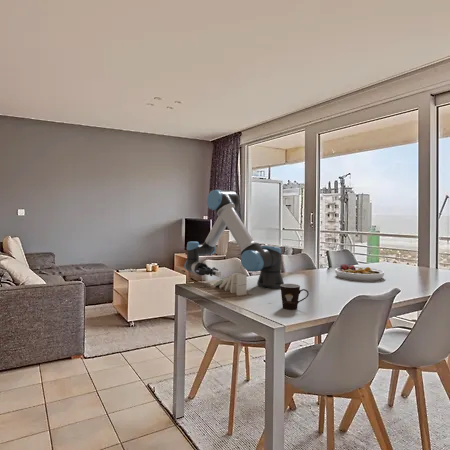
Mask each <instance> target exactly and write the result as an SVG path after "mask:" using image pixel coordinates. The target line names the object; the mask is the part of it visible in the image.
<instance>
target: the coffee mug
mask: <svg viewBox="0 0 450 450" xmlns="http://www.w3.org/2000/svg"><path fill="white" fill-rule="evenodd" d="M280 286H281V288H280V293H281V295H280V297H281V305H282V309H284V310H288V311H289V310H290V311H293V310H297V309H298V304H299V303H301V302H302V301H304V300H306V299H307V298H308V297H309V291H308V290H307V289H305V288H303V289H302V288H301V285H299V284H296V283H284V284H281V285H280ZM303 291H305V292H306V293H307V294H306V295H305V297H304V298H302V299H299V297H300V295H301V292H303Z"/></svg>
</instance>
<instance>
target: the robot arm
mask: <svg viewBox="0 0 450 450" xmlns="http://www.w3.org/2000/svg"><path fill="white" fill-rule="evenodd" d="M240 202H241V199H240V197H239V195H238V193H236V192H235V191H233V190H227V189H226V190H225V189H212V190H211V191H210V192H209V193H208V195H207V198H206V205H207V207H208V209H209V210H211V211H215V214H216V215H217V216H218V217H217V218H216V220H215V221H214V223H213V226H212V227H211V229H210V231H209V233H208V235H207V237H206V238H205V240H204V242H203V243H199V241H188V242H186V243H187V244H186V261H185V262H184V267H183V268H184V269H185V270H186V271H187V272H189V273H192V274H196V275H197V276H205V275H207V276H210V277H214V276H215V277H218V278H219V277H222V275H221V274H222V273H221V271H219V269H218V268H216V267H209V266H208V264H206V263H204V262H202V261H200V257H201V256H211V255H214V254H215V253H216V252H217V246H216V245H217V244H218V242H219V240H220V238H221V236H222V235H223V233H225V230H226V228H227V229H228V230H229V232H230V234H231V236H232V237H233V238H234V240H235V242H236V244H237V246H238V248H239V249H240V253H239V254H240V264H241V266H242V267H243V269H245V270H246V271H247V272H250V273H254V272H255V273H257V272H260V273H259V276H258V279H257V283H256V284H257V287H260V288H263V289H266V290H281V286H280V285H281V284H285V283H284V279H283V276H282V249H281V248H280V247H279V246H269V245H260V244H259V242H257V241H256V242H255V241H254V239H253V237H252V235H251V234H250V232H249V230H248V229H247V227H246V226H245V224H244V223H243V221H242V220H241V218H240V216H239V215H238V210H239V208H240Z"/></svg>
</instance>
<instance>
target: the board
mask: <svg viewBox="0 0 450 450" xmlns="http://www.w3.org/2000/svg"><path fill="white" fill-rule="evenodd" d="M194 288H195V289H198V290H200V291H203V292H205V293H207V294H211V295H212V296H215V297H218V298H220V299H223V300H227V299H233V298H241V297H247V296H248V297H249V296H253V294H250V293H248V292H247V293H246V294H245V295H237V293H231V292H230V291H226V290H225V288H224V289H220V287H214V284H212V285H205V286H202V285H201V286H196V287H194Z"/></svg>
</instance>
